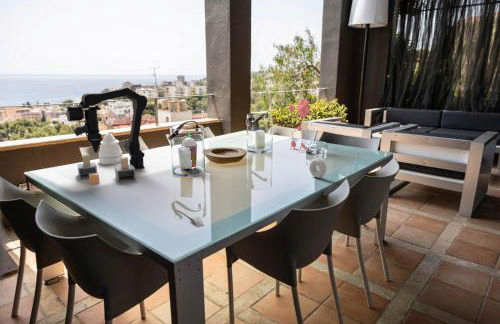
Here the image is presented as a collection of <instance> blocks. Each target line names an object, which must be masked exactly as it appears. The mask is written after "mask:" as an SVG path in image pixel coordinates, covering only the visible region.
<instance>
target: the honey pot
mask: <svg viewBox="0 0 500 324" xmlns="http://www.w3.org/2000/svg"><path fill="white" fill-rule="evenodd" d="M113 133H114V130H108V131H107V133H105V135H104V137H102V140H101V142H100V146H99V149H98V162H99V164H101V165H113V164H119V163H121V160H120V157H123V151H122V149H121V147H120V144H119V143H120V140H118V139H116V137H115V136H114V135H113Z"/></svg>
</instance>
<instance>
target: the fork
mask: <svg viewBox="0 0 500 324" xmlns="http://www.w3.org/2000/svg"><path fill="white" fill-rule="evenodd" d="M175 210H176V211H177V212H179V213H182V214H183V215H184V216H186V217H188V218H190V219H192V221H194V222H195V224H196V225H197V226H198V228H202V227H205V225H204V222H203V221H202V219H201V217H200V216H199V215H195V216H192V215H190V214H188V212H187V211H185V209H184V208H183V207H177V208H175Z"/></svg>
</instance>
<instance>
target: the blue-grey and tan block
mask: <svg viewBox="0 0 500 324" xmlns="http://www.w3.org/2000/svg"><path fill="white" fill-rule="evenodd" d="M81 157H82V163H77V173H78V178H79V180H81V178H82V177H81V175H82V176H83V175H89V174H93V173H98V167H97V163H96V162H91V158H90V154H82V155H81Z"/></svg>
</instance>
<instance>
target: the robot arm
mask: <svg viewBox="0 0 500 324" xmlns="http://www.w3.org/2000/svg"><path fill="white" fill-rule="evenodd" d="M122 97H126V98H127V99H129V100H131V102H132V104H131V105H132V110H133V113H132V120H131V127H130V133H129V138H128V139H125V140H124V145H123V148H124V150H125V151H126V153H127V154H128V155H129V156H130V159H128V162H129V165H133V167H134V168H135V170H137V169H145V165H144V158H145V152H143V151H142V150H141V143H140V139H139V137H140V133H141V125H142V120H143V113H144V111H145V110H146V107H147V104H148V98H147V97H146V96H145V95H144V94H139V93H137V92H136V91H134V90H132V89H131V88H129V87H125V86H123V87H122V88H117V89H112V90H108V91H104V92H95V93H94V92H92V93H90V92H89V93H87V92H86V93H84V94H82V96H81V100H80V102H79V103H78V105H77V106H66V113H65V114H66V119H67V121H68V122H78V121H83V119H84V124H83V125H80V126H77V127H75V128H73V129H72V131H73V133H74V134H75V136H76V137H79V136H80V135H83V134H85V137H86V139H87V141H88V142H90V144H91V147H92V149H93V151H94V153H95V154H97V153H98V152H99V149H100V146H101V141H102V140H103V136H102V134H101V132H100V128H99V124H100V123H99V118H98V111H101V110H102V108H101V107H100V106H98V105H99V104H100V103H102V102H105V101H109V100H113V99H117V98H122Z"/></svg>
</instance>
